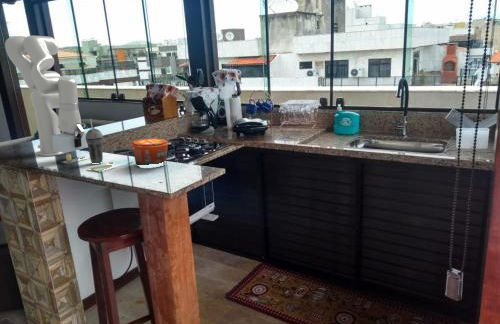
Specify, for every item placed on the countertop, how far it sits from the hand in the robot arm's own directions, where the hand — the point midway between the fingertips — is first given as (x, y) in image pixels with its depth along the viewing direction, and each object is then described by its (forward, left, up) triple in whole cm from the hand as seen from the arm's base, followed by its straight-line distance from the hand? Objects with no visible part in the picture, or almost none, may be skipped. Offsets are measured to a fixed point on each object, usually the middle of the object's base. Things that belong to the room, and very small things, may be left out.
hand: (72, 145), depth 167 cm
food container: (+38, +10, -7) cm, 40 cm away
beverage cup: (+14, +1, -7) cm, 16 cm away
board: (+24, 0, -7) cm, 25 cm away
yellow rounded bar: (+2, 0, -7) cm, 7 cm away
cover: (0, 0, -2) cm, 2 cm away
